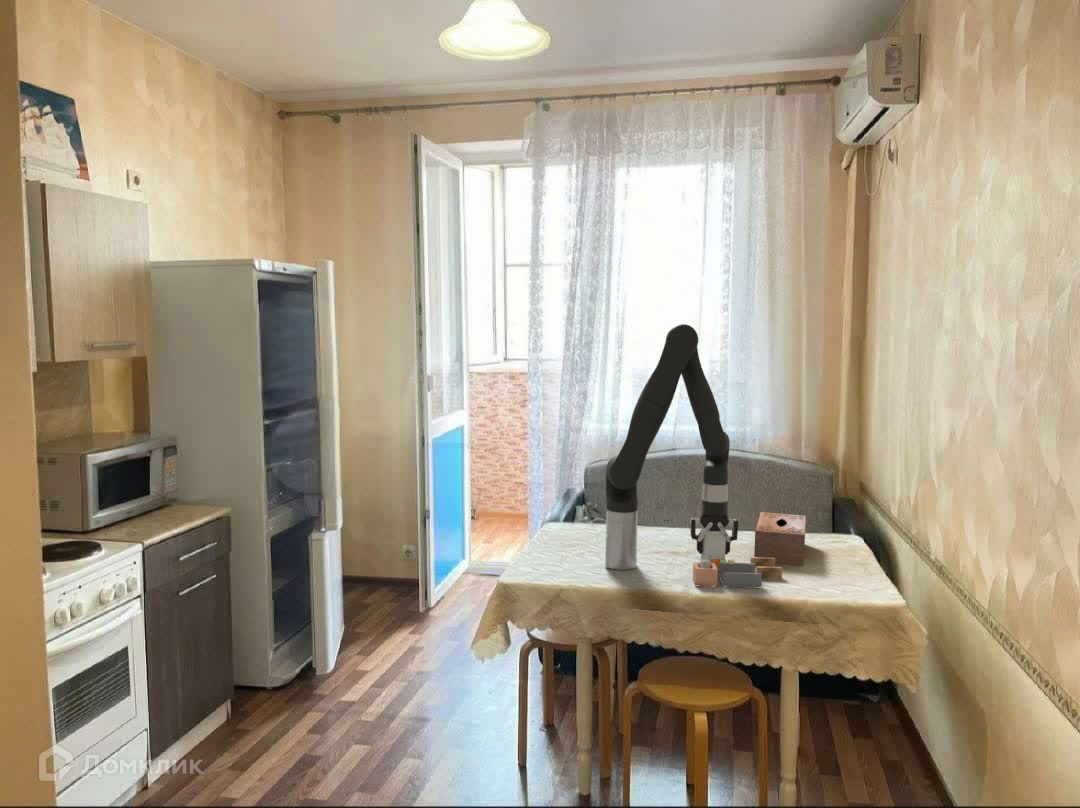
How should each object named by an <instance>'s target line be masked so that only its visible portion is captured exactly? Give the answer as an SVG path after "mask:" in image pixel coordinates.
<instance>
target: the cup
mask: <svg viewBox="0 0 1080 808" xmlns="http://www.w3.org/2000/svg"><path fill="white" fill-rule="evenodd" d="M718 572H719V571H718V569H717V567H716V565H715V563H710V560H705V559H703V560H701V559H700V560H699V562H697V561H696V562H692V581H694V582H693V584H695V585H697V586H696V587H702V586H717V587H718ZM695 585H694V586H695ZM698 585H699V586H698Z"/></svg>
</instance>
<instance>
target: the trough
mask: <svg viewBox="0 0 1080 808" xmlns="http://www.w3.org/2000/svg"><path fill="white" fill-rule="evenodd" d="M749 563H755V573H761V574H762V579H763V578H772V579H771V580H782V579H783V568H782V566H776V564H775V558H770V557H754V556H751V557H750V562H749Z"/></svg>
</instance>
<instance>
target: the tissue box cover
mask: <svg viewBox="0 0 1080 808" xmlns="http://www.w3.org/2000/svg"><path fill="white" fill-rule="evenodd" d="M806 520H807V516H806V515H803V514H789V513H780V512H779V513H776V512H775V513H774V512H766V511H764V512H763V511H761V512H759V516H758V520H757V523H756V527H755V529H754V550H753V551H754V553H753V555H754V556H753V557H770V558H775V565H782V564H783V565H785V566H794V567H802V568H803V567H804V565H805V547H806V546H805V545H806V523H807V521H806Z"/></svg>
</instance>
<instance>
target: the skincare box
mask: <svg viewBox="0 0 1080 808" xmlns="http://www.w3.org/2000/svg"><path fill="white" fill-rule="evenodd" d="M701 529H702V528H701ZM702 530H704V529H702ZM705 532H706V535H705V536H704V538H703V539H702V554H700V560H703V559H705V560H710V563H715V565H716V567H717V569H718V571H717V572H719V562H720V560H726V554H725V548H726V539H725V536H724V535H723V534H722V532H721V531H705Z"/></svg>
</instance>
